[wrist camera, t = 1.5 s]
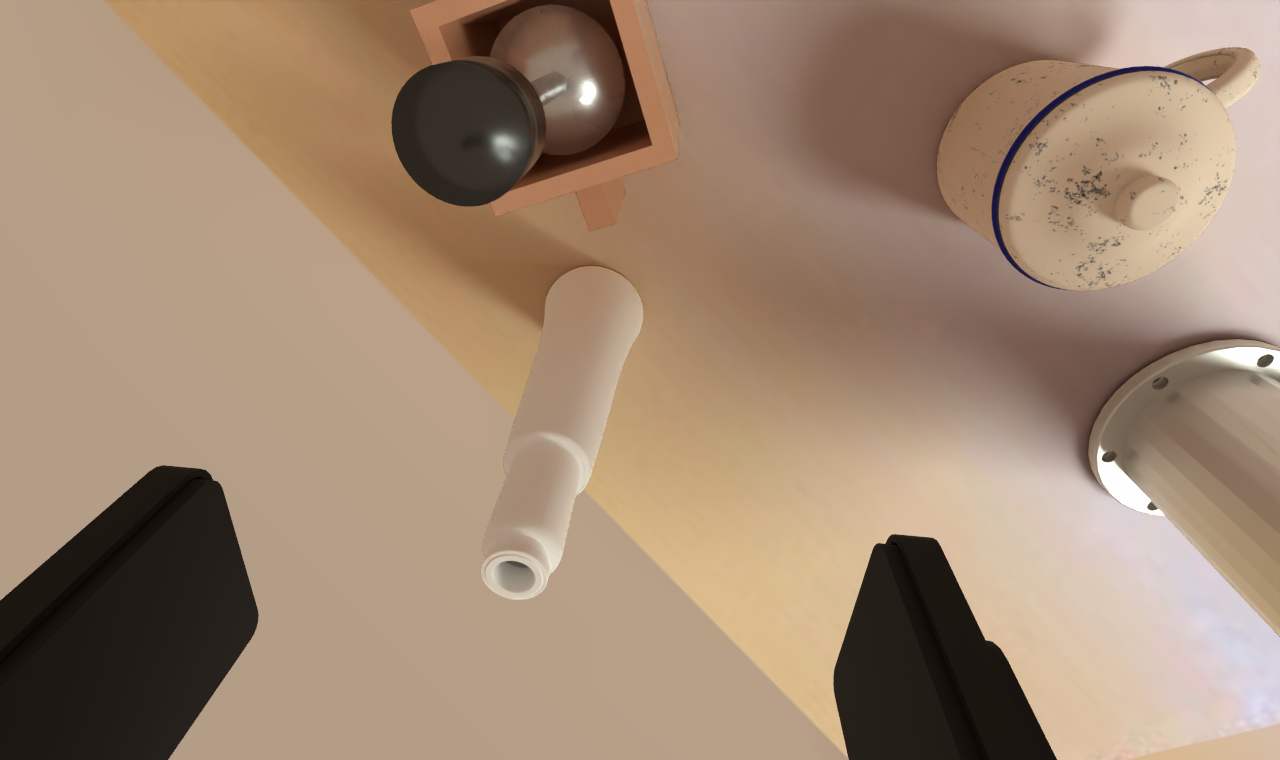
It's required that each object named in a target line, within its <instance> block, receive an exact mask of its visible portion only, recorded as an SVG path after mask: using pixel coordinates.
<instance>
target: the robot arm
mask: <svg viewBox="0 0 1280 760" xmlns="http://www.w3.org/2000/svg"><path fill="white" fill-rule="evenodd" d="M1088 457H1089V461H1090V466H1091V470H1092V472H1093V473H1094V475H1095V477H1096V479H1097V481H1098V482H1099V483H1100V484H1101V485H1102V487H1103V488H1104V489H1105V490H1106V491H1107V493H1108V494H1109V495H1110V496H1112V497H1113V498H1114V499H1115V500H1117V501H1118V502H1119V503H1120V504H1123V505H1125V506H1127V507H1129V508H1131V509H1133V510H1135V511H1139V512H1142V513H1146V514H1150V515H1161V516H1166V517H1167V518H1168V519H1169V520H1170V522H1171V523H1172V524H1173V525H1174V526H1175V527H1176V528H1177V529H1178V530H1179V531H1180V532H1181V533H1182V534H1183V535H1184V536H1185V537H1186V538H1187V540H1188V541H1189V542H1190V543H1191V544H1192V545H1193V546H1194V547H1195V548H1196V549H1197V550H1198V551H1199V552H1200V553H1201V554H1202V555H1203V556H1204V557H1205V559H1206V560H1207V561H1208V562H1209V563H1210V564H1211V565H1212V566H1213V567H1214V568H1215V569H1216V570H1217V571H1218V572H1219V573H1220V574H1221V575H1222V577H1223V578H1224V579H1225V580H1226V581H1227V582H1228V583H1229V584H1230V585H1231V586H1232V587H1233V588H1234V589H1235V590H1236V591H1237V592H1238V593H1239V594H1240V596H1241V597H1242V598H1243V599H1244V600H1245V601H1246V602H1247V603H1248V604H1249V605H1250V606H1251V607H1252V608H1253V609H1254V610H1255V611H1256V612H1257V613H1258V615H1259V616H1260V617H1261V618H1262V619H1263V620H1264V621H1265V622H1266V623H1267V624H1268V625H1269V626H1270V627H1271V628H1272V629H1273V630H1274V631H1275V633H1276V634H1277V635H1278V636H1279V637H1280V348H1279V347H1277V346H1274V345H1270V344H1267V343H1264V342H1260V341H1254V340H1243V339H1230V340H1217V341H1211V342H1207V343H1202V344H1198V345H1193V346H1190V347H1187V348H1185V349H1182V350H1179V351H1176V352H1174V353H1171V354H1169V355H1167V356H1165V357H1163V358H1161V359H1159V360H1157V361H1155V362H1153V363H1152V364H1150V365H1148V366H1147V367H1145V368H1144V369H1142V370H1141V371H1140V372H1138V373H1137V374H1135V375H1134V376H1132V377H1131V378H1130V379H1129V380H1128V381H1127V382H1126V383H1124V384H1123V385H1122V386H1121V387H1120V388H1119V389H1118V390H1117V391H1116V392H1115V393H1114V394H1113V395H1112V397H1111V398H1110V399H1109V401H1108V402H1107V403H1106V404H1105V406H1104V407H1103V408H1102V410H1101V412H1100V414H1099V416H1098V417H1097V419H1096V421H1095V423H1094V425H1093V429H1092V432H1091V435H1090V439H1089V449H1088ZM257 623H258V609H257V606H256V602H255V599H254V596H253V592H252V589H251V585H250V582H249V578H248V575H247V572H246V568H245V564H244V561H243V558H242V555H241V551H240V547H239V544H238V540H237V537H236V533H235V530H234V527H233V523H232V520H231V517H230V513H229V509H228V506H227V502H226V499H225V496H224V492H223V489H222V487H221V485H220V484H219V483H218V482H217V481H213V479H212V477H211V475H210V474H209V473H208V472H207V471H206V470H203V469H196V468H185V467H174V466H159V467H156V468H154V469H153V470H151V471H150V472H148V473H147V474H146V475H145V476H144V477H143V478H142V479H140V480H139V481H138V482H137V483H136V484H134V485H133V486H132V487H131V488H130V489H129V490H128V491H126V492H125V493H124V494H123V495H122V496H121V497H119V498H118V499H117V500H116V501H115V502H114V503H113V504H111V505H110V506H109V507H108V508H107V509H106V510H105V511H103V512H102V513H101V514H100V515H99V516H98V517H96V518H95V519H94V520H93V521H92V522H91V523H89V524H88V525H87V526H86V527H85V528H84V529H82V530H81V531H80V532H79V533H78V534H77V535H76V536H74V537H73V538H72V539H71V540H70V541H69V542H67V543H66V544H65V545H64V546H63V547H62V548H61V549H59V550H58V551H57V552H56V553H55V554H54V555H52V556H51V557H50V558H49V559H48V560H47V561H45V563H43V564H42V565H41V566H40V567H39V568H37V569H36V570H35V571H34V572H33V573H32V574H31V575H29V576H28V577H27V578H26V579H25V580H24V581H22V582H21V583H20V584H19V585H18V586H17V587H15V588H14V589H13V590H12V591H11V592H10V593H9V594H8V595H6V596H5V597H4V598H3V599H2V600H0V760H168V759H169V757H170V756H171V754H172V753H173V752H174V750H175V749H176V747H177V746H178V744H179V743H180V742H181V740H182V739H183V737H184V736H185V734H186V733H187V731H188V730H189V728H190V727H191V725H192V724H193V723H194V721H195V720H196V718H197V717H198V715H199V714H200V712H201V711H202V710H203V708H204V707H205V705H206V704H207V702H208V701H209V699H210V698H211V696H212V695H213V693H214V692H215V691H216V689H217V688H218V686H219V685H220V683H221V682H222V680H223V679H224V678H225V676H226V675H227V673H228V672H229V670H230V669H231V667H232V666H233V664H234V663H235V662H236V660H237V659H238V657H239V656H240V654H241V653H242V651H243V650H244V648H245V647H246V645H247V644H248V643H249V641H250V640H251V638H252V636H253V635H254V632H255V630H256V627H257ZM834 693H835V699H836V703H837V708H838V712H839V717H840V721H841V726H842V731H843V735H844V740H845V744H846V749H847V753H848V758H849V760H1057V759H1056V757H1055V755H1054V753H1053V751H1052V749H1051V747H1050V745H1049V743H1048V741H1047V739H1046V737H1045V735H1044V733H1043V731H1042V729H1041V727H1040V725H1039V723H1038V721H1037V719H1036V717H1035V715H1034V713H1033V711H1032V709H1031V707H1030V705H1029V703H1028V700H1027V698H1026V696H1025V694H1024V692H1023V690H1022V688H1021V686H1020V684H1019V682H1018V680H1017V678H1016V676H1015V674H1014V672H1013V670H1012V668H1011V666H1010V664H1009V662H1008V660H1007V658H1006V657H1005V655H1004V654H1003V652H1002V651H1001V649H1000V648H999V647H998V646H997V645H996V644H994V643H993V642H992V641H986V640H985V638H984V636H983V634H982V632H981V630H980V628H979V626H978V624H977V622H976V620H975V617H974V615H973V613H972V611H971V609H970V607H969V605H968V603H967V601H966V599H965V597H964V594H963V592H962V590H961V588H960V586H959V584H958V582H957V580H956V578H955V576H954V573H953V571H952V569H951V567H950V565H949V563H948V561H947V559H946V557H945V555H944V552H943V550H942V548H941V546H940V545H939V543H938V542H937V540H935V539H934V538H928V537H917V536H907V535H896V534H894V535H891V536H890V537H889V538H888V540H887V542H886V544H880V543H879V544H876V545H875V546H874V548H873V551H872V554H871V557H870V560H869V563H868V566H867V569H866V572H865V576H864V579H863V582H862V585H861V588H860V591H859V594H858V597H857V600H856V604H855V607H854V610H853V613H852V616H851V619H850V622H849V625H848V628H847V632H846V635H845V638H844V641H843V644H842V647H841V650H840V653H839V656H838V660H837V663H836V666H835V670H834Z"/></svg>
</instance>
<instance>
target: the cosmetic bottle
mask: <svg viewBox="0 0 1280 760" xmlns="http://www.w3.org/2000/svg"><path fill="white" fill-rule="evenodd" d="M642 323H643V306H642V302H641V299H640V297H639V295H638V293H637V291H636V290H635V288H634V287H633V285H632V284H631V283H630V282H629V281H628V280H627V279H626V278H624V277H623V276H622V275H620V274H618V273H617V272H615V271H612V270H610V269H607V268H603V267H597V266H585V267H580V268H576V269H573V270H571V271H569V272H567V273H565V274H564V275H562V276H561V277H560V278H558V279H557V281H556V282H555V283H554V284H553V285H552V287H551V288H550V290H549V292H548V295H547V297H546V302H545V317H544V325H543V330H542V335H541V339H540V343H539V346H538V350H537V353H536V356H535V360H534V363H533V366H532V369H531V372H530V375H529V378H528V381H527V384H526V387H525V390H524V393H523V396H522V399H521V402H520V405H519V408H518V411H517V414H516V417H515V420H514V423H513V426H512V430H511V433H510V437H509V440H508V443H507V447H506V450H505V454H504V460H503V466H504V471H505V474H506V476H507V477H506V479H505V482H504V485H503V487H502V490H501V492H500V495H499V498H498V500H497V503H496V505H495V508H494V511H493V513H492V516H491V519H490V521H489V524H488V526H487V529H486V532H485V534H484V537H483V543H482V549H483V554H484V560H483V562H482V566H481V576H482V579H483V581H484V583H485V584H486V586H487V587H489V589H490V590H492V591H493V592H494V593H496V594H498V595H500V596H502V597H505V598H509V599H514V600H515V599H516V600H522V599H528V598H532V597H535V596H536V595H538V594H540V593H541V592H542V591H543V590H544V588H545V587H546V585H547V581H548V577H549V575H550V574H551V573H552V572H553V571H554V570H555V569H556V567H557V566H558V564H559V562H560V560H561V557H562V553H563V549H564V544H565V540H566V536H567V531H568V527H569V522H570V518H571V514H572V509H573V505H574V501H575V496H576V495H578V494H579V493H580V492H581V491H583V490H584V488H585V487H586V485H587V484H588V482H589V479H590V476H591V473H592V470H593V467H594V464H595V461H596V457H597V454H598V451H599V447H600V444H601V440H602V437H603V434H604V430H605V427H606V423H607V419H608V416H609V412H610V408H611V405H612V401H613V397H614V394H615V390H616V387H617V383H618V380H619V377H620V374H621V371H622V368H623V365H624V362H625V359H626V357H627V354H628V352H629V350H630V348H631V346H632V344H633V343H634V341H635V340H636V338H637V336H638V335H639V332H640V330H641V327H642Z"/></svg>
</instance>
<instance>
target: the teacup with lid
mask: <svg viewBox="0 0 1280 760" xmlns="http://www.w3.org/2000/svg"><path fill="white" fill-rule="evenodd" d="M1259 75H1260V64H1259V62H1258V59H1257V57H1256V55H1255V53H1253V52H1252V51H1251V50H1249V49H1246V48H1238V47H1232V48H1221V49H1215V50H1211V51H1206V52H1203V53H1199V54H1196V55H1193V56H1190V57H1187V58H1184V59H1181V60H1179V61H1176V62H1174V63H1172V64H1169V65H1167V66H1165V67H1152V66H1141V67H1130V68H1123V69H1117V68H1110V67H1102V66H1095V65H1088V64H1080V63H1073V62H1066V61H1058V60H1037V61H1031V62H1026V63H1022V64H1018V65H1016V66H1013V67H1010V68H1008V69H1006V70H1003V71H1001V72H999V73H998V74H996V75H994V76H992V77H991V78H989V79H988V80H986V81H985V82H984V83H982V84H981V85H980V86H979V87H977V88H976V89H975V90H974V91H973V92H972V93H971V94H970V95H969V96H968V97H967V98H966V99H965V100H964V101H963V102H962V104H961V105H960V106H959V107H958V109H957V110H956V112H955V113H954V115H953V116H952V118H951V120H950V121H949V123H948V125H947V127H946V129H945V132H944V134H943V137H942V140H941V142H940V147H939V151H938V157H937V178H938V184H939V187H940V191H941V193H942V196H943V198H944V200H945V202H946V203H947V205H948V206H949V208H950V209H951V210H952V211H953V213H954V214H955V215H956V216H957V217H959V218H960V219H961V220H962V221H963V222H965V223H966V224H967V225H969V226H970V227H971V228H973V229H974V230H975V231H977V232H978V233H979V234H980V235H982V236H983V237H984V238H986V239H987V240H988V241H990V242H991V243H992V244H994V245H995V246H996V247H997V248H999V249H1000V250H1001V251H1002V253H1003V254H1004V256H1005V257H1006V258H1007V260H1008V261H1009V262H1010V263H1011V264H1012V266H1013V267H1014V268H1016V269H1017V270H1018V271H1019V272H1020V273H1022V274H1023V275H1025V276H1026V277H1028V278H1029V279H1031V280H1033V281H1035V282H1037V283H1040V284H1042V285H1045V286H1049V287H1052V288H1057V289H1063V290H1076V291H1089V290H1099V289H1105V288H1110V287H1115V286H1118V285H1122V284H1125V283H1128V282H1131V281H1133V280H1136V279H1139V278H1141V277H1143V276H1145V275H1147V274H1149V273H1151V272H1153V271H1155V270H1157V269H1158V268H1160V267H1162V266H1163V265H1165V264H1166V263H1168V262H1169V261H1171V260H1172V259H1173V258H1175V257H1176V256H1178V255H1179V254H1180V253H1181V252H1182V251H1184V250H1185V249H1186V248H1187V247H1188V246H1189V245H1190V244H1191V243H1192V242H1193V241H1194V240H1195V239H1196V238H1197V237H1198V236H1199V235H1200V234H1201V233H1202V232H1203V230H1204V229H1205V228H1206V227H1207V225H1208V224H1209V223H1210V221H1211V220H1212V218H1213V217H1214V215H1215V214H1216V212H1217V211H1218V209H1219V207H1220V205H1221V204H1222V202H1223V200H1224V197H1225V195H1226V193H1227V191H1228V188H1229V185H1230V182H1231V179H1232V175H1233V171H1234V165H1235V157H1236V144H1235V135H1234V130H1233V126H1232V123H1231V120H1230V117H1229V115H1228V113H1227V111H1226V109H1225V108H1227V107H1228V106H1230V105H1231V104H1233V103H1234V102H1236V101H1237V100H1238V99H1240V98H1241V97H1242V96H1243V95H1245V94H1246V93H1247V92H1248V91H1249V90H1250V89H1251V88H1252V86H1253V85H1254V84H1255V83H1256V81H1257V79H1258V77H1259ZM1215 78H1217V79H1216V80H1214V81H1213V82H1211V83H1210V84H1208V85H1207V86H1205V85H1204V84H1203V83H1202V81H1205V80H1210V79H1215Z"/></svg>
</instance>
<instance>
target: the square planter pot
mask: <svg viewBox="0 0 1280 760" xmlns="http://www.w3.org/2000/svg"><path fill="white" fill-rule="evenodd" d="M543 5H563V6H569V7H572V8H575V9H578V10H581V11H583V12H585V13H587V14H588V15H590V16H591V17H593V18H594V19H596V20H597V21H598V22H599V23H600V24H601V25H602V26H603V27H604V28H605V29H606V30H607V31H608V32H609V34H610V35H611V37H612V38H613V40H614V41H615V43H616V45H617V47H618V49H619V51H620V54H621V57H622V59H623V63H624V68H625V75H626V91H625V99H624V102H623V106H622V109H621V112H620V114H619V116H618V118H617V120H616V122H615V123H614V125H613V127H612V128H611V129H610V131H609V132H608V133H607V134H606V135H605V136H604V137H603V138H602V139H601V140H600V141H599V142H598V143H596V144H595V145H594V146H592V147H590V148H588V149H586V150H584V151H582V152H579V153H575V154H571V155H551V154H545V153H542V152H541V154H540V156H539V158H538V160H537V161H536V163H535V164H534V165H533V167H532V168H531V169H530V170H529V171H528V172H527V173H526V174H525V175H524V176H523V177H522V178H521V179H520V180H519V181H518V182H517V183H516V184H515V185H514V186H513V187H512V188H511V189H510V190H509V191H508V192H507V193H506V194H504V195H503V196H502V197H500V198H498V199H497V200H495V201H493V202H490V205H491V207H492V209H493V212H494V214H495V216H498V215H501V214H504V213H508V212H511V211H514V210H517V209H520V208H524V207H527V206H530V205H533V204H536V203H540V202H543V201H546V200H549V199H552V198H555V197H559V196H562V195H565V194H568V193H571V192H576V195H577V198H578V200H579V203H580V206H581V209H582V212H583V215H584V217H585V220H586V223H587V226H588V229H589V231H593V230H596V229H600V228H603V227H606V226H610V225H613V224H615V223H616V220H617V217H618V214H619V211H620V208H621V205H622V202H623V199H624V196H625V193H626V189H625V186H624V183H623V180H622V177H623V176H626V175H629V174H632V173H635V172H638V171H642V170H645V169H648V168H651V167H654V166H658V165H661V164H664V163H667V162H670V161H674V160H677V158H678V142H679V125H680V122H679V118H678V115H677V111H676V107H675V104H674V100H673V96H672V93H671V89H670V85H669V82H668V78H667V74H666V71H665V67H664V63H663V60H662V56H661V52H660V48H659V45H658V41H657V37H656V34H655V30H654V26H653V23H652V19H651V15H650V12H649V8H648V4H647V1H646V0H435V1H433V2H430V3H428V4H425V5H423V6H420V7H417V8H415V9H412V10H410V13H411V15H412V18H413V20H414V22H415V25H416V27H417V30H418V32H419V34H420V37H421V39H422V42H423V44H424V46H425V49H426V51H427V54H428V56H429V58H430V61H431V63H432V65H435V64H439V63H443V62H448V61H453V60H457V59H462V58H466V57H473V56H486V57H489V56H490V53H491V49H492V47H493V45H494V42H495V40H496V38H497V37H498V35H499V33H500V32H501V30H502V29H503V28H504V27H505V25H506V24H507V23H508V22H509V21H511V20H512V19H513V18H514V17H515V16H517V15H518V14H520V13H522V12H524V11H526V10H528V9H530V8H534V7H537V6H543Z"/></svg>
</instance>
